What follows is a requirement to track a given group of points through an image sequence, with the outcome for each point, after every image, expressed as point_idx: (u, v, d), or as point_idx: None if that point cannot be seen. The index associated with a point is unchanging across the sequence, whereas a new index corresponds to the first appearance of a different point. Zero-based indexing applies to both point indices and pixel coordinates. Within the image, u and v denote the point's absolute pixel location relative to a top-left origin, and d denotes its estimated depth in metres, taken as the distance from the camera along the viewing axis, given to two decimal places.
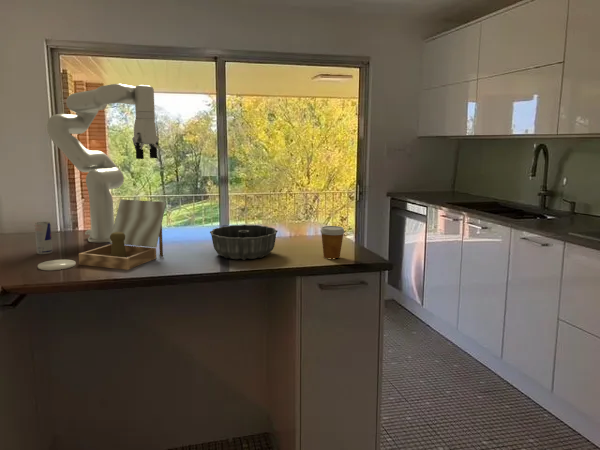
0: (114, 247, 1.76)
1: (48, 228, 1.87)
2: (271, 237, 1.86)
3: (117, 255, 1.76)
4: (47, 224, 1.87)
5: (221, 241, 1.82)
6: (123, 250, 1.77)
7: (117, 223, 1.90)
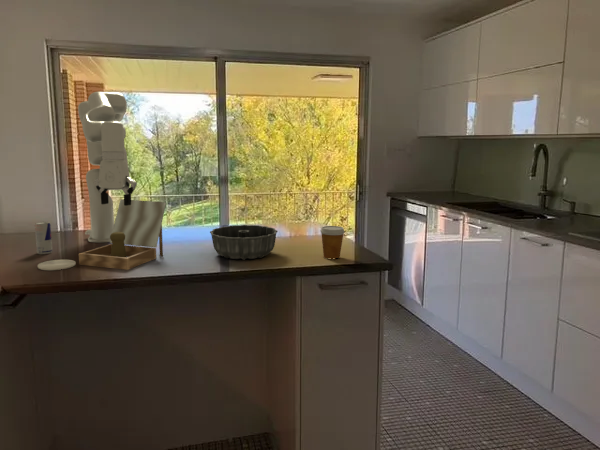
0: (114, 247, 1.76)
1: (48, 228, 1.87)
2: (271, 237, 1.86)
3: (117, 255, 1.76)
4: (47, 224, 1.87)
5: (221, 241, 1.82)
6: (123, 250, 1.77)
7: (117, 223, 1.90)
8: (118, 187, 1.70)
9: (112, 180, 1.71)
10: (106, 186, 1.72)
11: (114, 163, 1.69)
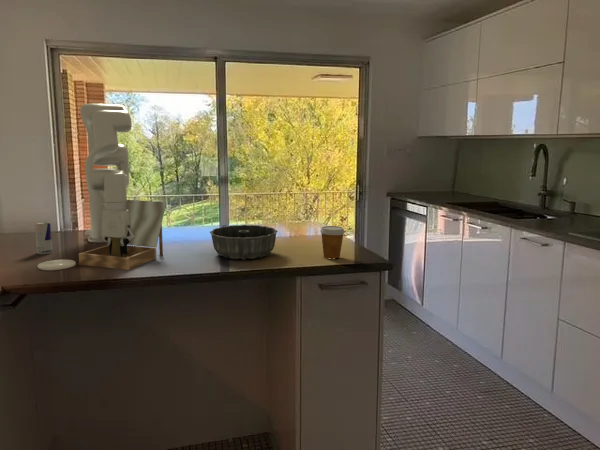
0: (114, 247, 1.76)
1: (48, 228, 1.87)
2: (271, 237, 1.86)
3: (117, 255, 1.76)
4: (47, 224, 1.87)
5: (221, 241, 1.82)
6: None
7: None
8: (120, 236, 1.74)
9: (114, 229, 1.74)
10: (108, 235, 1.75)
11: (116, 213, 1.73)
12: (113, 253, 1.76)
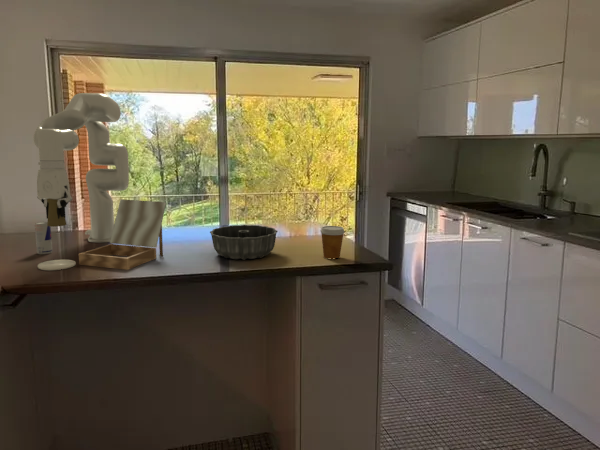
0: (50, 209, 1.66)
1: (48, 228, 1.87)
2: (271, 237, 1.86)
3: (54, 218, 1.66)
4: None
5: (221, 241, 1.82)
6: None
7: (117, 223, 1.90)
8: (56, 197, 1.64)
9: (50, 190, 1.64)
10: (44, 196, 1.65)
11: (52, 172, 1.63)
12: (49, 216, 1.66)
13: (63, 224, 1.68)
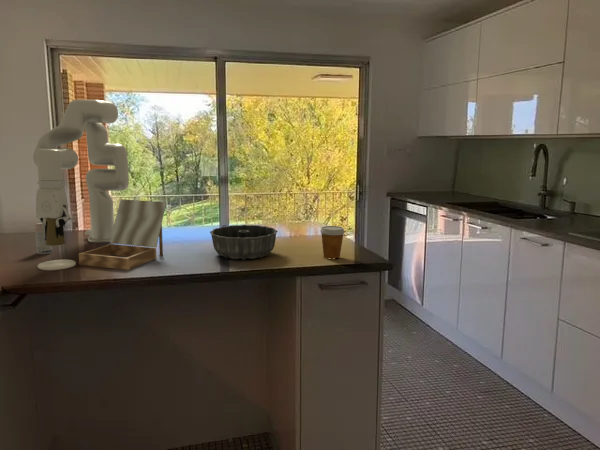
0: (49, 228, 1.67)
1: None
2: (271, 237, 1.86)
3: (52, 237, 1.67)
4: None
5: (221, 241, 1.82)
6: None
7: (117, 223, 1.90)
8: (55, 216, 1.64)
9: (49, 209, 1.65)
10: (43, 215, 1.66)
11: (50, 192, 1.64)
12: (48, 235, 1.67)
13: (61, 243, 1.69)
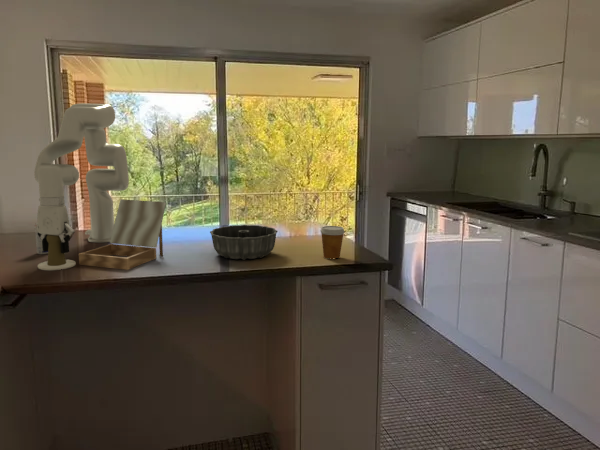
0: (50, 249, 1.68)
1: None
2: (271, 237, 1.86)
3: (54, 257, 1.68)
4: None
5: (221, 241, 1.82)
6: (60, 252, 1.69)
7: (117, 223, 1.90)
8: (56, 233, 1.65)
9: (50, 226, 1.66)
10: (44, 232, 1.67)
11: (52, 209, 1.65)
12: (49, 255, 1.68)
13: (63, 263, 1.70)
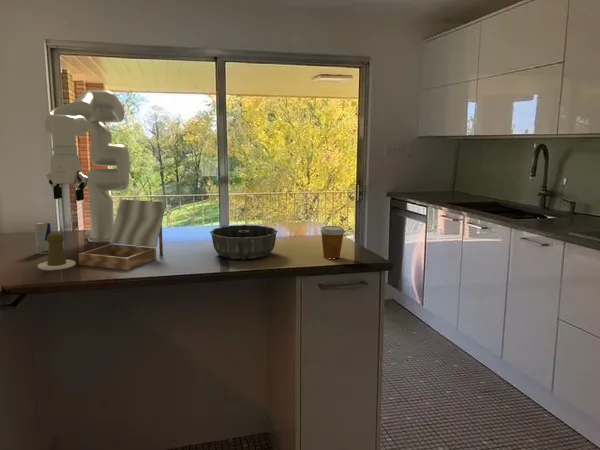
0: (50, 249, 1.68)
1: (48, 228, 1.87)
2: (271, 237, 1.86)
3: (54, 257, 1.68)
4: (47, 224, 1.87)
5: (221, 241, 1.82)
6: (61, 252, 1.69)
7: (117, 223, 1.90)
8: (69, 182, 1.68)
9: (63, 175, 1.68)
10: (57, 181, 1.69)
11: (65, 158, 1.67)
12: (49, 255, 1.68)
13: (63, 263, 1.70)
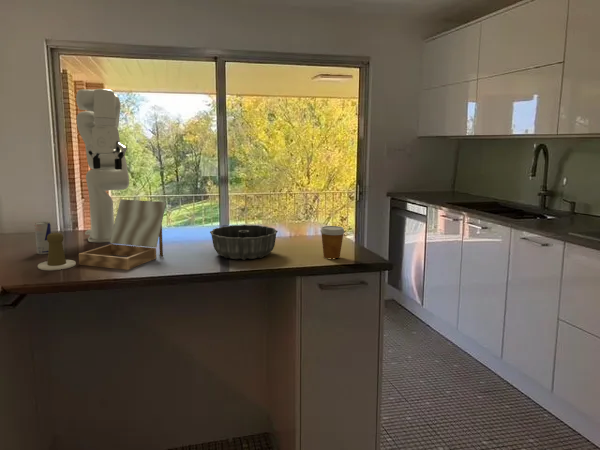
0: (50, 249, 1.68)
1: (48, 228, 1.87)
2: (271, 237, 1.86)
3: (54, 257, 1.68)
4: (47, 224, 1.87)
5: (221, 241, 1.82)
6: (61, 252, 1.69)
7: (117, 223, 1.90)
8: (109, 151, 1.80)
9: (103, 145, 1.80)
10: (98, 151, 1.81)
11: (105, 128, 1.79)
12: (49, 255, 1.68)
13: (63, 263, 1.70)
